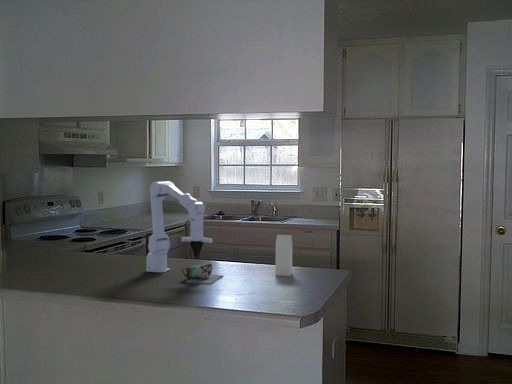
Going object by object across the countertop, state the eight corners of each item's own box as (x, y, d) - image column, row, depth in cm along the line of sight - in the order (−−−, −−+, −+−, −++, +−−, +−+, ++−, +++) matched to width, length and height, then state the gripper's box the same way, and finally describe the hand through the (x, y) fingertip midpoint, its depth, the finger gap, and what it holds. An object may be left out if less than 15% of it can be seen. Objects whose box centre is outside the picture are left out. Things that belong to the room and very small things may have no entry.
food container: (182, 282, 240) (201, 280, 236) (180, 268, 240) (199, 266, 236) (195, 278, 251) (214, 276, 247) (194, 265, 252) (212, 263, 248)
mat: (185, 282, 237) (185, 281, 237) (199, 274, 253) (199, 273, 253) (210, 284, 234) (210, 283, 234) (223, 276, 249) (223, 275, 249)
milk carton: (290, 276, 250) (290, 236, 249) (275, 275, 251) (275, 235, 250) (292, 273, 257) (292, 234, 256) (277, 272, 258) (278, 233, 257)
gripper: (178, 228, 241) (178, 258, 242) (208, 230, 237) (208, 260, 238) (184, 226, 248) (185, 255, 249) (214, 228, 244) (214, 257, 245)
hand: (196, 257), depth 244 cm, fingers closed
